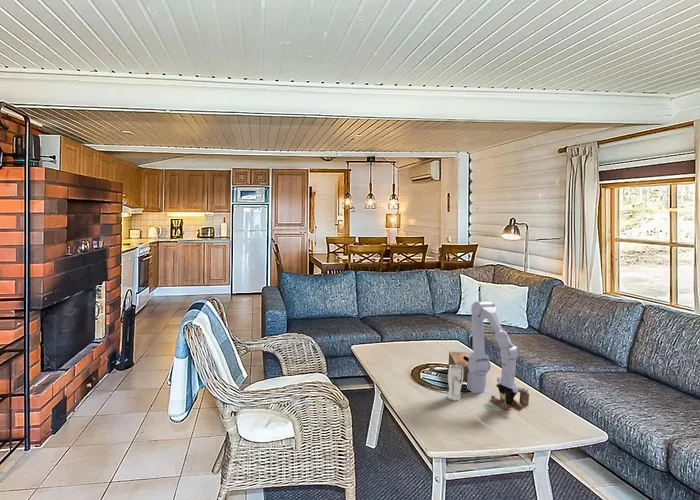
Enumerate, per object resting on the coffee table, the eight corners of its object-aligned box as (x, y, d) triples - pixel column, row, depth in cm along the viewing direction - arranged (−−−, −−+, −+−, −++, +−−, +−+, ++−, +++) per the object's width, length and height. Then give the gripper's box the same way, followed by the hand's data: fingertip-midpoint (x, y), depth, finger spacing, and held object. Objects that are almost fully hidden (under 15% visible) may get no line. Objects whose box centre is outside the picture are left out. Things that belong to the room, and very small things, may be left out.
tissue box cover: (484, 387, 241) (485, 367, 240) (455, 385, 242) (456, 365, 241) (474, 370, 267) (475, 353, 266) (448, 369, 268) (449, 351, 267)
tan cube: (499, 403, 218) (500, 392, 218) (507, 402, 219) (508, 392, 219) (504, 406, 214) (505, 395, 214) (512, 406, 215) (513, 395, 215)
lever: (498, 385, 227) (498, 382, 227) (528, 392, 219) (528, 389, 219) (496, 386, 224) (496, 384, 224) (526, 393, 217) (526, 391, 216)
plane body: (490, 401, 222) (490, 388, 221) (519, 399, 225) (519, 387, 225) (504, 411, 210) (505, 398, 210) (534, 409, 213) (535, 397, 213)
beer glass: (451, 401, 219) (452, 369, 218) (444, 396, 225) (445, 364, 224) (464, 400, 220) (466, 368, 219) (457, 395, 227) (459, 364, 226)
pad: (483, 406, 214) (483, 405, 214) (496, 406, 216) (496, 404, 216) (490, 412, 208) (490, 411, 208) (503, 411, 210) (503, 410, 210)
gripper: (525, 378, 210) (523, 408, 211) (507, 367, 224) (505, 396, 225) (511, 378, 208) (508, 409, 209) (493, 368, 222) (491, 396, 223)
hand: (506, 402), depth 217 cm, fingers closed on tan cube, 4 cm apart
